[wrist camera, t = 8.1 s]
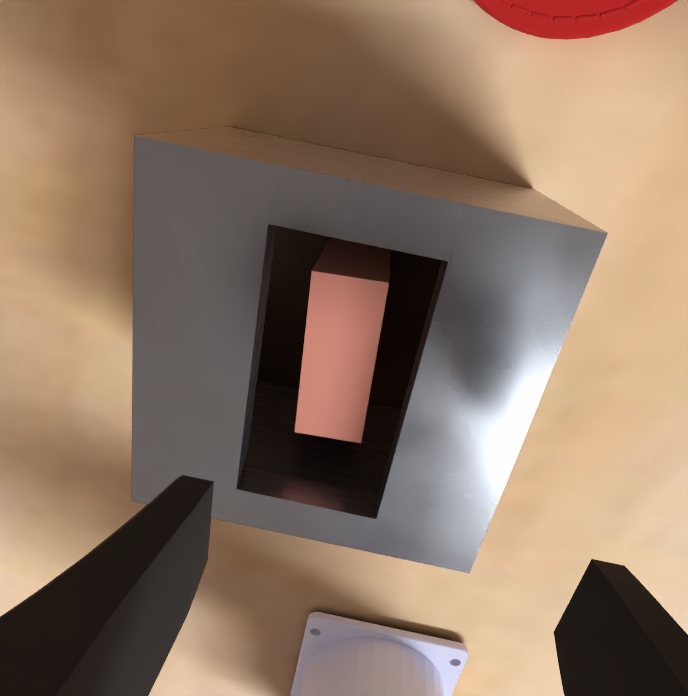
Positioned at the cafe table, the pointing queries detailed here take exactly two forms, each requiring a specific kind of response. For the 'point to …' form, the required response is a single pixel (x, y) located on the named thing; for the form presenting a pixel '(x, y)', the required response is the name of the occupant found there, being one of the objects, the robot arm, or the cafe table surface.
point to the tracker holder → (571, 15)
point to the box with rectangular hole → (281, 401)
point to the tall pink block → (342, 338)
